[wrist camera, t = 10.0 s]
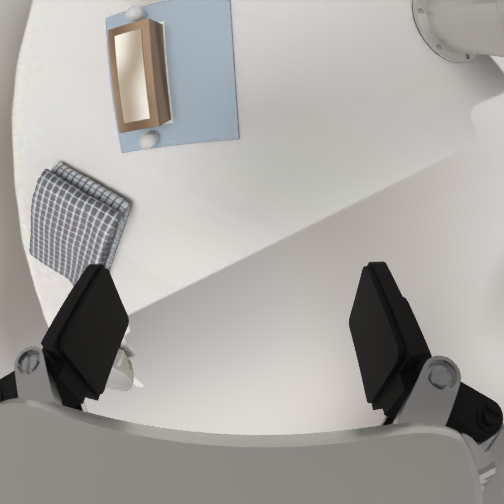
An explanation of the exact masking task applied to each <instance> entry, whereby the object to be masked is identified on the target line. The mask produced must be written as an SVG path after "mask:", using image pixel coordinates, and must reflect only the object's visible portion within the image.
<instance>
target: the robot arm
mask: <svg viewBox="0 0 504 504" xmlns="http://www.w3.org/2000/svg"><path fill="white" fill-rule="evenodd" d="M413 14H414V19H415V22H416V25H417V28H418V29H419V31H420V33H421V35H422V37H423V38H424V40H425V41H426V43H427V44H428V45H429V46H430V47H431V48H432V49H433V50H434V51H435V52H436V53H437V54H439V55H440V56H442V57H443V58H445V59H447V60H450V61H453V62H460V63H464V62H469V61H471V60H473V59H474V58H475V57H476V56H477V55H478V54H483V55H492V56H500V57H504V0H413ZM128 323H129V319H128V315H127V313H126V311H125V308H124V306H123V304H122V302H121V299H120V297H119V294H118V292H117V290H116V287H115V285H114V282H113V280H112V277H111V275H110V272H109V270H108V269H107V268H105V266H104V265H103V264H89V265H88V266H87V267H86V269H85V270H84V272H83V273H82V275H81V276H80V278H79V279H78V281H77V282H76V284H75V286H74V287H73V289H72V290H71V292H70V293H69V295H68V297H67V298H66V300H65V302H64V303H63V305H62V307H61V308H60V310H59V312H58V313H57V315H56V317H55V318H54V320H53V322H52V324H51V325H50V327H49V329H48V331H47V333H46V335H45V336H44V338H43V340H42V342H41V344H42V345H43V349H42V350H41V349H40V348H38V347H36V346H31V347H28V348H26V349H24V350H23V351H22V352H21V353H20V354H19V355H18V357H17V359H16V361H15V368H14V369H15V371H13V372H12V373H10V374H8V375H7V376H5V377H3V378H2V379H0V504H504V424H503V414H502V411H501V408H500V407H499V405H498V404H497V403H496V402H494V401H493V400H492V399H490V398H488V397H486V396H485V395H483V394H481V393H479V392H478V391H476V390H474V389H473V388H471V387H469V386H467V385H466V384H464V383H462V382H460V381H461V374H460V371H459V368H458V367H457V365H456V364H455V363H454V362H453V361H452V360H451V359H449V358H447V357H444V356H434V357H432V356H431V353H430V351H429V349H428V346H427V344H426V341H425V339H424V336H423V334H422V332H421V329H420V327H419V325H418V323H417V321H416V318H415V316H414V314H413V312H412V309H411V307H410V305H409V303H408V301H407V300H406V298H404V297H402V295H401V293H400V290H399V288H398V286H397V284H396V282H395V280H394V278H393V276H392V274H391V272H390V270H389V269H388V266H387V265H386V263H385V262H369V263H368V265H367V266H365V267H363V270H362V274H361V278H360V281H359V285H358V289H357V293H356V297H355V300H354V304H353V308H352V311H351V314H350V318H349V327H350V331H351V334H352V338H353V342H354V346H355V351H356V355H357V359H358V363H359V367H360V372H361V376H362V380H363V385H364V390H365V394H366V399H367V402H368V403H372V407H373V410H376V409H383V411H384V415H386V417H385V418H384V420H383V422H382V423H381V425H380V426H376V427H367V428H360V429H353V430H344V431H334V432H323V433H311V434H294V435H230V434H212V433H201V432H190V431H182V430H174V429H166V428H159V427H153V426H146V425H141V424H136V423H131V422H126V421H121V420H116V419H112V418H108V417H104V416H100V415H95V414H92V413H88V411H87V408H86V405H85V403H84V399H85V397H87V398H89V399H94V400H98V399H99V396H100V394H102V393H103V392H104V389H105V386H106V384H107V381H108V378H109V375H110V372H111V369H112V366H113V363H114V361H115V358H116V355H117V353H118V350H119V347H120V345H121V342H122V339H123V337H124V334H125V332H126V329H127V327H128Z"/></svg>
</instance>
